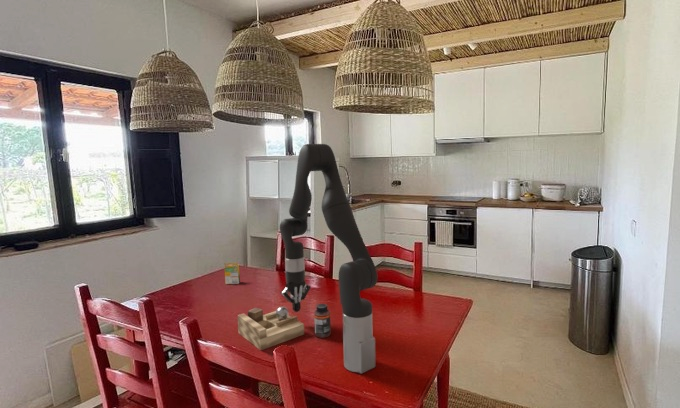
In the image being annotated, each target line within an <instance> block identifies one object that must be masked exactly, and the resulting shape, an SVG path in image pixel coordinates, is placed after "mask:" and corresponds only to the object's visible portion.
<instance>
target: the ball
mask: <svg viewBox="0 0 680 408" xmlns="http://www.w3.org/2000/svg"><path fill="white" fill-rule="evenodd" d="M275 311H276V312H275ZM275 311H274V312H275V315H276V318H277V319H279V320H284V319H286V318H287V317H288V315H289V310H288V308H287V307H285V306H279V307H278V308H277V309H276V310H275Z"/></svg>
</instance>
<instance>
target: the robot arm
mask: <svg viewBox="0 0 680 408" xmlns="http://www.w3.org/2000/svg"><path fill="white" fill-rule="evenodd" d="M298 153H299V154H298V155H297V156H298V157H297V162H296V163H297V165H296V173H295V181H294V182H295V183H294V184H295V185H294V191H293V195H292V198H291V202H290V206H289V208H288V212H289V215H290V216H291V218H290V217H289V218H284V219H282V220H281V222H280V224H279V232H280V235H281V238H282V240H283V244H284V245H283V246H284V249H285V251H284V254H285V261H284V263H285V264H284V269H285V282H286V284H285V288H284V289H283V290H281V291H280V294H281V295H282V297H284V298H285V300H287V302H289V303H290V304H292V310H293V312H294V313H298V312H301V311H300V310H301V308H302V307H301V301H302V300H303V301H304V300H305V299H306V297H307V295H308V293H309V291H310V289H311V285H310V284H307V282H306V280H305V279H306V270H305V268H306V267H305V266H306V264H305V255H304V244H303V243H302V242H301V241H297V240H293V237H298V236H303V235H304V234H306V232H307V231H308V214H309V210H310V207H311V205H312V201H313V199H312V192H311V188H310V186H309V183H308V182H309V181H308V179H309V176H310V173H311V172H322V175H323V178H324V182H325V189H324V193H323V197H322V201H321V212H322V215H323V218H324V220H325V224H326V226H327V228H328V229H329V231H330V232H331V234H333V235H334V236H335V237H336V239H338V240H339V241H340V242H341V243H342V244H343V245H344V246H345V247H346V249H347V250H348V253H349V254H350V256H351V259H352V261H349V262H345V263H343V264H342V265H340V267H339V270H338V288H339V300H340V304H341V311H342V340H343V341H342V342H343V343H342V344H343V345H342V347H343V348H342V349H343V350H342V351H343V366H344V368H345V369H346V370H348V371H349V372H353V373H358V374H360V375H361V374H363V373H366V372H368V371H370V370H372V369H374V368H376V338H375V336H373V304H372V302H371V301H370V300H368V299H366V298H363V297H362V298H361V293H360V292H361V291H364V290H369V289H371V288H374V287H375V286H376V285H377V282H378V272H377V268H376V266H375V262H374V260H373V258H372V257H371V255H370V253H369V249H368V247H366V244H365V241H364V239H363V236H362V234H361V232H360V229H359V227H358V224H357V222H356V219H355V215H354V213H353V211H352V210H353V209H352V207H351V205H350V202H349V200H348V197H347V194H346V192H345V189H344V186H343V182H342V180H341V175H340V172H339V169H338V164H337V160H336V158H335V154H334V151H333V149H332V147H331V146H330V145H329V144H326V143H306V144H305V143H304V144H303V145H302V146H301V147H300V150H299V152H298Z"/></svg>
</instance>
